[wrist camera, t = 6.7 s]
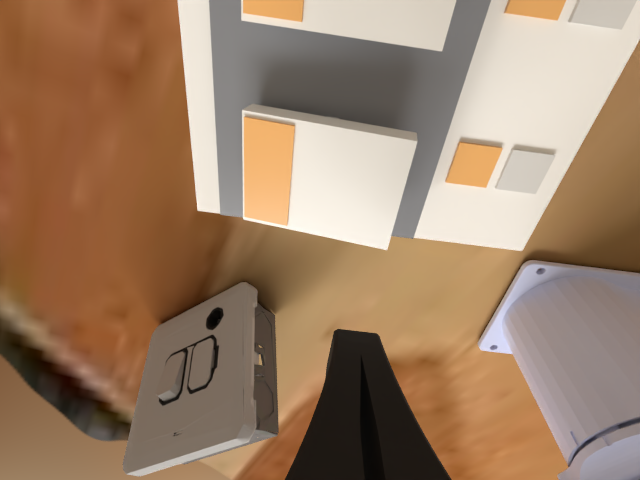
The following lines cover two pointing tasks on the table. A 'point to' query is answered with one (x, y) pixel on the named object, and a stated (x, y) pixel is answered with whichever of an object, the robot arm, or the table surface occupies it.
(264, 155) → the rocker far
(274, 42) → the switch unit
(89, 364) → the table surface
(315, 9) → the rocker near
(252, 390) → the electrical switch
